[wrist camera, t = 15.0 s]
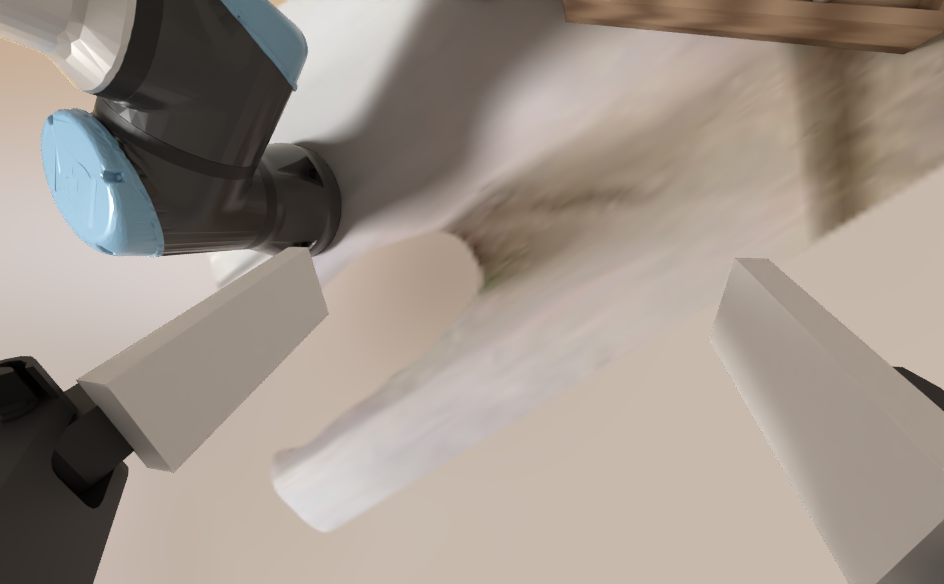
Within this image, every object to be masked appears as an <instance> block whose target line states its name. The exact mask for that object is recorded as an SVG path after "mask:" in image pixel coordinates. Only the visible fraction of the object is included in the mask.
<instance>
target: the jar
mask: <svg viewBox="0 0 944 584" xmlns="http://www.w3.org/2000/svg"><path fill="white" fill-rule="evenodd" d="M813 1H814V2H821V3H825V2H828V1H830V0H813Z"/></svg>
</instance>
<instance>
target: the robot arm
mask: <svg viewBox="0 0 944 584" xmlns="http://www.w3.org/2000/svg"><path fill="white" fill-rule="evenodd" d="M0 38H2V39H5V40H8V41H11V42H13V43H16V44H19V45H22V46H24V47H27V48H30V49H33V50H36V51H38V52H41V53H42V54H44V55H45V56H46V57H48V58H49V59H50V60H51V61H52V62H53V64H54V65H55V66H56V67H57V68H58V69H59V70H60V71H61V72H62V73H63V75H64V76H65V77H66V78H67V79H68V80H69V81H70V82H71V83H72V85H74V86H75V87H76V88H77V89H79V90H82V91H84V92H86V93H90V94H93V95H96V96H97V99H96V103H95V106H94V109H93V112H92V113H88V112H87V111H84V110H81V109H77V108H76V109H74V108H73V109H71V110H68V109H61V110H58V111H56V112H54V113H53V115H50V116H49V117H48V118H47V119H46V121H45V123H44V126H43V130H42V135H41V152H42V161H43V167H44V171H45V175H46V179H47V182H48V185H49V188H50V191H51V193H52V196H53V198H54V201H55V203H56V205H57V207H58V209H59V211H60V212H61V214H62V216H63V217H64V219H65V220H66V222H67V223H68V225H69V226H70V228H71V229H72V230H73V231H74V233H75V234H76V235H77V236H78V237H79V238H80V239H82V240H83V241H84V242H85V243H86V244H87V245H89V246H90V247H92V248H94V249H95V250H98V251H99V252H102V253H105V254H109V255H114V256H150V257H159V256H168V255H180V254H191V253H204V252H216V251H229V250H241V249H251V250H254V251H258V252H261V253H265V254H269V255H272V256H274V257H272V258H270V259H269V260H267V261H266V262H264V263H262V264H261V265H259V266H258V267H256V268H254V269H253V270H251V271H250V272H248V273H246V274H245V275H243V276H242V277H240V278H238V279H237V280H235V281H234V282H232V283H230V284H229V285H227V286H226V287H224V288H222V289H221V290H219V291H218V292H216V293H214V294H213V295H211V296H210V297H208V298H207V299H205V300H204V301H202V302H200V303H198V304H197V305H195V306H194V307H192V308H190V309H189V310H187V311H186V312H184V313H182V314H181V315H179V316H178V317H176V318H175V319H173V320H171V321H170V322H168V323H167V324H165V325H163V326H162V327H160V328H159V329H157V330H155V331H154V332H152V333H151V334H149V335H147V336H146V337H144V338H143V339H141V340H139V341H138V342H136V343H135V344H133V345H131V346H130V347H128V348H127V349H125V350H124V351H122V352H120V353H119V354H117V355H115V356H114V357H112V358H111V359H109V360H107V361H106V362H104V363H103V364H101V365H99V366H98V367H96V368H95V369H93V370H91V371H90V372H88V373H87V374H85V375H84V376H82V377H81V378H79V379H77V380H76V381H77V382H78V384H76V385H75V386H73V387H71V388H70V389H68V390H67V391H65V392H63V391H62V390H61V388H60V387H59V386H58V385H57V384H56V383H55V381H54V380H53V379H52V378H51V377H50V376H49V374H48V373H47V372H46V371H45V370H44V369H43V368H42V366H41V365H40V364H39V363H38V362H37V360H36V359H34V358H33V357H31V356H20V357H15V358H9V359H4V360H1V361H0V584H93V582H94V578H95V576H96V572H97V570H98V566H99V563H100V560H101V557H102V554H103V551H104V548H105V545H106V542H107V539H108V535H109V532H110V529H111V526H112V523H113V520H114V517H115V514H116V511H117V508H118V505H119V502H120V499H121V496H122V492H123V489H124V486H125V483H126V480H127V477H128V467H127V465H126V464H125V463H124V462H123V460H124V459H125V458H126V457H127V456H128V455H130V454H131V453H132V452H133V451H134V452H135V453H136V454H137V455H138V457H139V458H140V459H141V460H142V462H143V463H144V464H145V465H146V467H147V468H151V469H157V470H163V471H167V472H173V473H174V472H175V471H176V470H177V469H178V468H179V467H180V466H181V465H182V464H183V463H184V462H185V461H186V460H187V459H188V458H189V457H190V456H191V454H193V452H195V451H196V450H197V448H198V447H199V446H200V445H201V444H202V443H203V442H204V441H205V440H206V439H207V438H208V437H209V436H210V435H211V434H212V433H213V432H214V431H215V430H216V429H217V428H218V427H219V426H220V425H221V424H222V423H223V422H224V421H225V420H226V419H227V418H228V417H229V416H230V415H231V414H232V413H233V411H235V410H236V408H237V407H238V406H239V405H240V404H241V403H242V402H243V401H244V400H245V399H246V398H247V397H248V396H249V395H250V394H251V393H252V392H253V391H254V390H255V389H256V388H257V387H258V386H259V385H260V384H261V383H262V382H263V381H264V380H265V379H266V378H267V377H268V376H269V375H270V374H271V373H272V372H273V370H275V369H276V368H277V366H278V365H279V364H280V363H281V362H282V361H283V360H284V359H285V358H286V357H287V356H288V355H289V354H290V353H291V352H292V351H293V350H294V349H295V348H296V347H297V346H298V345H299V344H300V343H301V342H302V341H303V340H304V339H305V338H306V337H307V336H308V335H309V334H310V333H311V331H313V330H314V329H315V328H316V326H317V325H318V324H319V323H320V322H321V321H322V320H323V319H324V318H325V317H326V316H327V315H328V314H329V313H328V310H327V307H326V303H325V300H324V297H323V294H322V291H321V287H320V284H319V281H318V278H317V274H316V271H315V268H314V265H313V262H312V258H311V257H312V256H314V255H316V254H318V253H320V252H321V251H323V250H324V249H325V248H326V247H327V246H328V245H329V243H330V242H331V241H332V239H333V237H334V235H335V233H336V231H337V228H338V225H339V221H340V213H341V201H340V193H339V189H338V185H337V182H336V180H335V177H334V175H333V173H332V171H331V170H330V168H329V167H328V165H327V164H326V163H325V162H324V160H323V159H322V158H321V157H320V156H318V155H317V154H316V153H314V152H313V151H311V150H309V149H307V148H304V147H300V146H296V145H292V144H288V143H275V144H268V143H269V141H270V139H271V136H272V134H273V132H274V130H275V128H276V126H277V123H278V121H279V119H280V117H281V115H282V113H283V110H284V108H285V106H286V104H287V102H288V100H289V98H290V95H291V93H292V91H296V90H297V80H298V78H299V75H300V73H301V71H302V68H303V66H304V63H305V61H306V58H307V53H308V47H307V43H306V39H305V37H304V35H303V33H302V32H301V30H300V29H299V28H298V27H297V26H296V25H295V24H294V23H293V22H292V21H290V20H289V19H288V18H287V17H286V16H285V15H284V14H283V13H281V12H280V11H279V10H278V9H277V8H276V7H275V6H274V5H273V4H271V3H270V2H269V1H268V0H0ZM709 341H710V342H711V344H712V346H713V347H714V349H715V351H716V353H717V355H718V356H719V358H720V360H721V361H722V363H723V365H724V367H725V368H726V370H727V372H728V373H729V376H730V377H731V379H732V381H733V382H734V384H735V386H736V388H737V389H738V391H739V393H740V395H741V396H742V398H743V400H744V402H745V404H746V405H747V407H748V409H749V410H750V412H751V414H752V416H753V417H754V419H755V421H756V423H757V424H758V426H759V428H760V430H761V431H762V433H763V435H764V437H765V438H766V440H767V442H768V444H769V445H770V447H771V449H772V451H773V452H774V454H775V456H776V458H777V459H778V461H779V463H780V464H781V466H782V468H783V470H784V471H785V473H786V475H787V477H788V478H789V480H790V482H791V484H792V485H793V487H794V489H795V491H796V492H797V494H798V496H799V498H800V499H801V501H802V503H803V504H804V506H805V508H806V510H807V512H808V513H809V515H810V517H811V519H812V520H813V522H814V524H815V526H816V527H817V529H818V531H819V533H820V534H821V536H822V538H823V540H824V541H825V543H826V545H827V547H828V548H829V550H830V552H831V553H832V555H833V557H834V559H835V561H836V562H837V564H838V566H839V568H840V569H841V571H842V573H843V575H844V576H845V578H846V580H847V581H848V583H849V584H944V390H942V389H941V388H940V387H938V386H936V385H934V384H932V383H930V382H929V381H927V380H925V379H923V378H921V377H920V376H918V375H916V374H914V373H912V372H911V371H909V370H907V369H905V368H903V367H892V366H891V365H890V364H888V363H887V362H886V361H885V360H884V359H883V358H881V357H880V356H879V355H878V354H877V353H876V352H874V351H873V350H872V349H871V348H870V347H869V346H868V345H867V344H865V343H864V342H863V341H862V340H861V339H859V338H858V337H857V336H856V335H855V334H854V333H853V332H851V331H850V330H849V329H848V328H847V327H846V326H845V325H843V324H842V323H841V322H840V321H839V320H838V319H837V318H835V317H834V316H833V315H832V314H831V313H830V312H828V311H827V310H826V309H825V308H823V306H822V305H820V304H819V303H818V302H817V301H816V300H814V299H813V298H812V297H811V296H810V295H809V294H808V293H807V292H805V291H804V290H803V289H802V288H801V287H800V286H798V285H797V284H796V283H795V282H794V281H793V280H791V279H790V278H789V277H788V276H787V275H786V274H785V273H783V272H782V271H781V270H780V269H779V268H778V267H777V266H775V265H774V264H773V263H772V262H771V261H770V260H768V259H759V258H735V260H734V263H733V266H732V269H731V272H730V275H729V279H728V282H727V285H726V288H725V291H724V294H723V297H722V300H721V303H720V306H719V310H718V313H717V315H716V318H715V321H714V325H713V328H712V331H711V334H710V337H709Z"/></svg>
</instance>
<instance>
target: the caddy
mask: <svg viewBox="0 0 944 584" xmlns="http://www.w3.org/2000/svg"><path fill="white" fill-rule="evenodd" d="M563 6H564V12H565V18H566V22H573V23H584V24H594V25H605V26H615V27H625V28H636V29H646V30H657V31H667V32H678V33H688V34H698V35H709V36H719V37H730V38H740V39H750V40H761V41H771V42H782V43H792V44H803V45H813V46H823V47H834V48H844V49H855V50H865V51H875V52H886V53H896V54H905V53H907V52H909V51H910V50H912V49H914V48H916V47H917V46H919V45H921V44H923V43H924V42H926V41H928V40H930V39H931V38H933V37H935V36H937V35H939V34H940V33H942V32H944V0H830V1H828V2H825V3H821V2H814V1H813V0H563Z"/></svg>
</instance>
